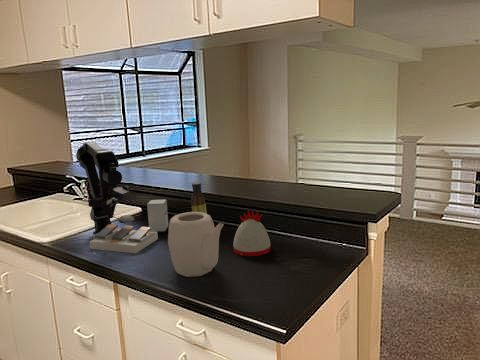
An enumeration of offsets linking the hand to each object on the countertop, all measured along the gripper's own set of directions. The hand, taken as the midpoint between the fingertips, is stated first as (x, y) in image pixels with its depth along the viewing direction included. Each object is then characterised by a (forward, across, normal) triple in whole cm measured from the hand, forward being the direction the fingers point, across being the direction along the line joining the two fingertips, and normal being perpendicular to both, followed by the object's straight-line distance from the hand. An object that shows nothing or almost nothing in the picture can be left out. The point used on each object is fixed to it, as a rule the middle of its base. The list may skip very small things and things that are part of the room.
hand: (111, 218), depth 167 cm
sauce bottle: (+9, +23, -29) cm, 38 cm away
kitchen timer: (+9, +2, -60) cm, 61 cm away
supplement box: (+9, +16, -12) cm, 22 cm away
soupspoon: (+10, +28, +17) cm, 34 cm away
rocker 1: (+5, -4, 0) cm, 6 cm away
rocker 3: (+5, -4, -16) cm, 17 cm away
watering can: (+9, -21, -49) cm, 54 cm away
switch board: (+9, -4, -8) cm, 13 cm away
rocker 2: (+5, -4, -8) cm, 10 cm away
